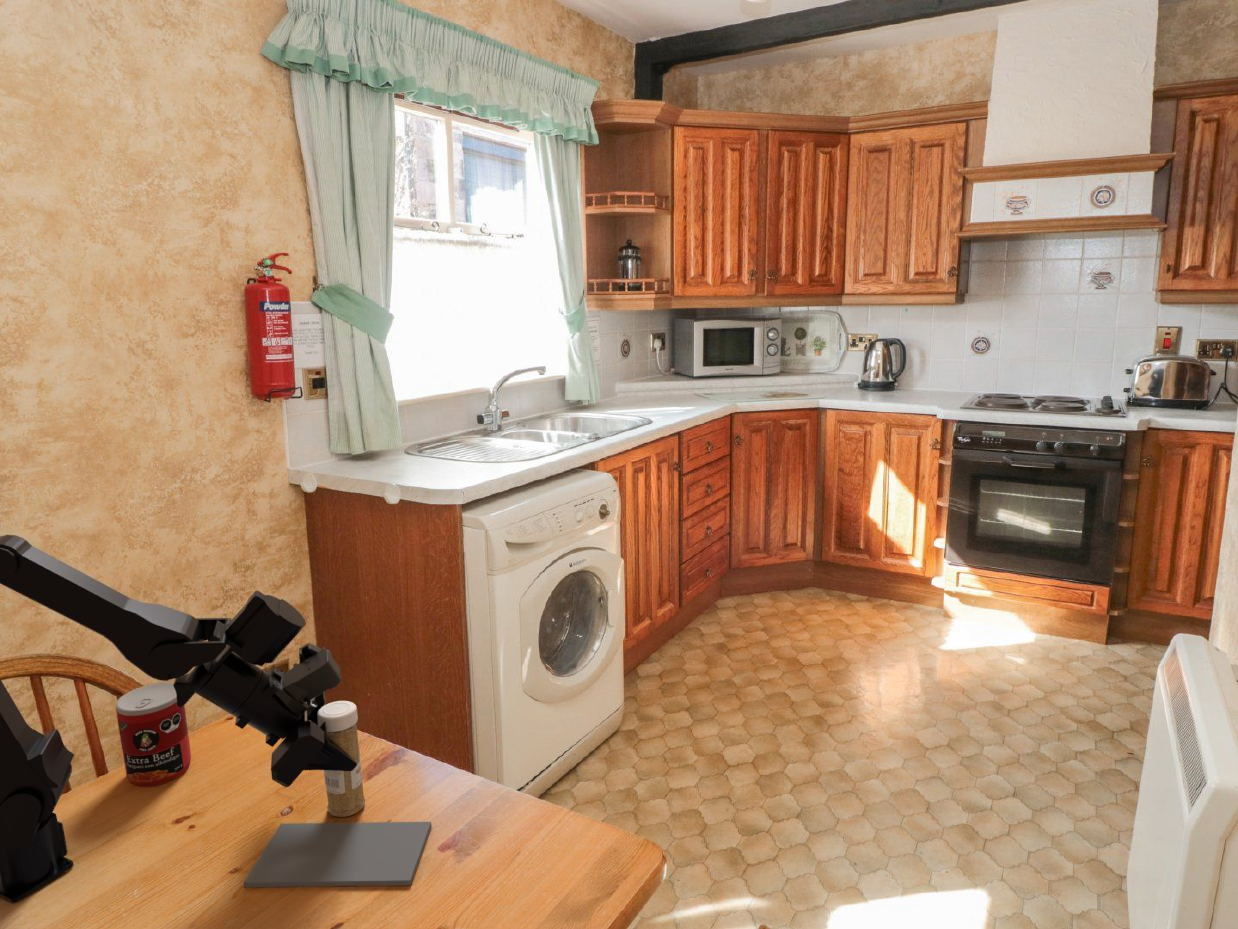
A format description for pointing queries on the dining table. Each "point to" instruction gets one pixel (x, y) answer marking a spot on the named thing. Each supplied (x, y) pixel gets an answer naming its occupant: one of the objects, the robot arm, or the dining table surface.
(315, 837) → the charcoal mat
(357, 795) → the spice jar
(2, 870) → the robot arm
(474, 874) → the dining table surface
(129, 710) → the canned food
